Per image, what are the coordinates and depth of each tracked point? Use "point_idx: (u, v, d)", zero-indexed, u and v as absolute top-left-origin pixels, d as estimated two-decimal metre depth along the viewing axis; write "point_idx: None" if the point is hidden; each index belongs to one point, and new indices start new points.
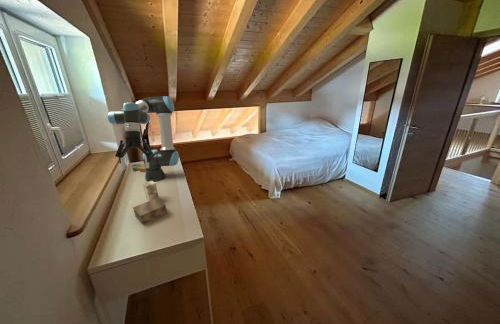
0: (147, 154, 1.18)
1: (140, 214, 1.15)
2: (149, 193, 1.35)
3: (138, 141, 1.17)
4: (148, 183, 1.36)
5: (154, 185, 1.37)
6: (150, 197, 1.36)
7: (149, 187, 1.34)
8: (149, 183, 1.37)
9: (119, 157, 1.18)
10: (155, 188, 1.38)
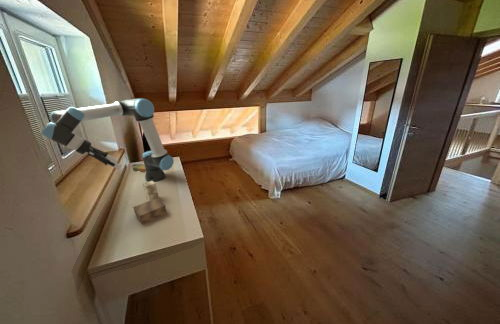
0: None
1: (139, 214, 1.15)
2: (149, 193, 1.35)
3: None
4: (148, 183, 1.36)
5: (154, 185, 1.37)
6: (150, 197, 1.36)
7: (149, 187, 1.34)
8: (149, 183, 1.37)
9: (104, 157, 1.27)
10: (155, 188, 1.38)
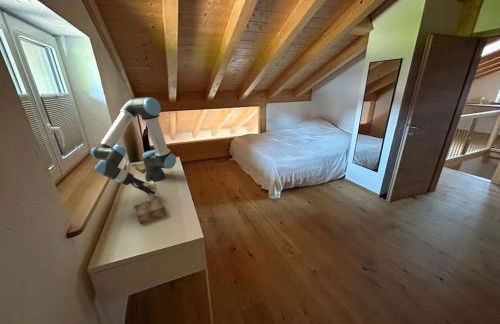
0: None
1: (138, 214, 1.15)
2: (149, 193, 1.35)
3: (133, 184, 1.28)
4: (148, 183, 1.36)
5: (154, 185, 1.37)
6: (150, 197, 1.36)
7: (149, 187, 1.34)
8: (149, 183, 1.37)
9: None
10: (155, 188, 1.38)
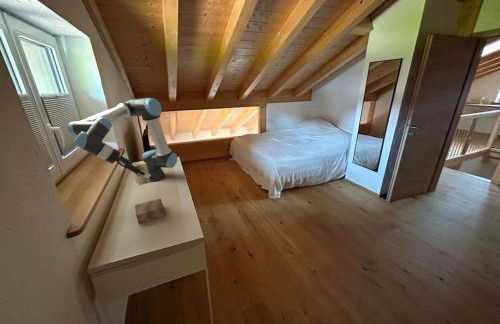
0: (136, 172, 1.16)
1: (137, 213, 1.16)
2: (138, 174, 1.19)
3: (119, 163, 1.12)
4: (137, 163, 1.20)
5: (144, 165, 1.20)
6: (139, 179, 1.20)
7: (138, 167, 1.18)
8: (139, 163, 1.20)
9: None
10: (145, 169, 1.21)
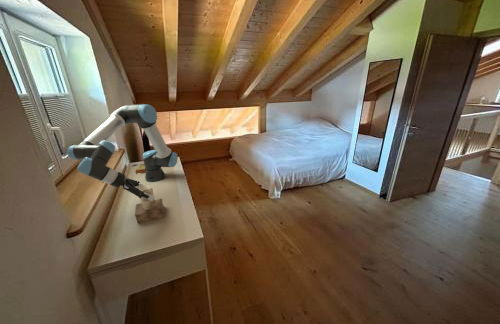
0: None
1: (136, 213, 1.16)
2: (144, 199, 1.17)
3: None
4: (143, 188, 1.18)
5: (150, 190, 1.18)
6: (145, 204, 1.18)
7: None
8: (145, 188, 1.18)
9: (136, 186, 1.23)
10: (151, 193, 1.19)
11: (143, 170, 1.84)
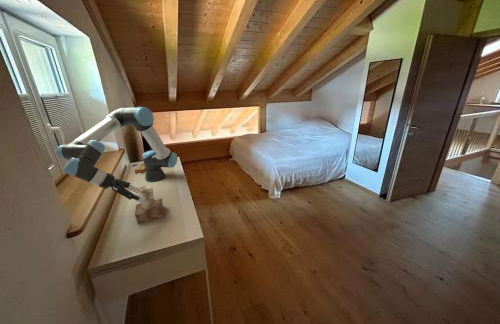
0: None
1: (136, 213, 1.16)
2: None
3: None
4: (143, 188, 1.18)
5: (150, 190, 1.18)
6: (145, 204, 1.18)
7: (144, 192, 1.16)
8: (145, 187, 1.19)
9: (126, 187, 1.20)
10: (151, 193, 1.19)
11: (142, 170, 1.84)
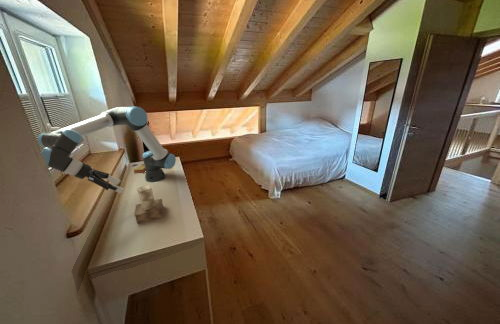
0: None
1: (136, 213, 1.16)
2: (144, 199, 1.17)
3: None
4: (142, 188, 1.18)
5: (149, 190, 1.18)
6: (145, 204, 1.18)
7: (143, 192, 1.16)
8: (144, 188, 1.18)
9: (105, 178, 1.19)
10: (151, 193, 1.19)
11: (141, 170, 1.84)
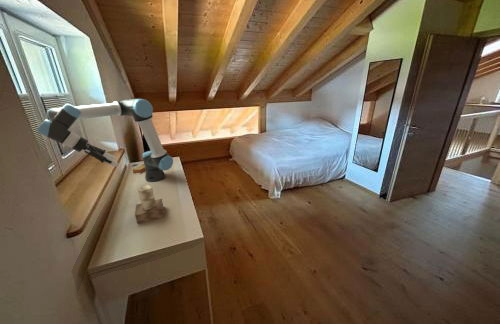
0: None
1: (136, 213, 1.16)
2: (144, 199, 1.17)
3: None
4: (143, 188, 1.18)
5: (150, 190, 1.18)
6: (146, 204, 1.18)
7: (144, 192, 1.16)
8: (144, 187, 1.18)
9: (102, 154, 1.27)
10: (151, 193, 1.19)
11: (138, 171, 1.83)
